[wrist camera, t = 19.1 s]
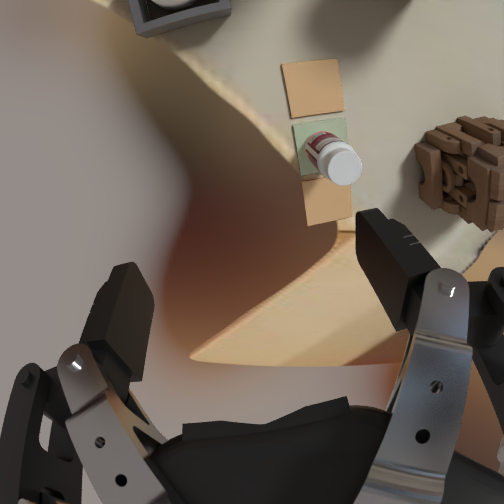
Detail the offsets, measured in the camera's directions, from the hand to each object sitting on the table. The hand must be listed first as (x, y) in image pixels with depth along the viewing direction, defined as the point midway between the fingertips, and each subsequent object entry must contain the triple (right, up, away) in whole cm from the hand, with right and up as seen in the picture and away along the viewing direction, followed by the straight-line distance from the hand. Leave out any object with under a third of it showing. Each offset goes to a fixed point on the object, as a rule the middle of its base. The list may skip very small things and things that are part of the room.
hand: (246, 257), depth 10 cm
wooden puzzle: (+36, +16, +28) cm, 48 cm away
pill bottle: (+9, +14, +26) cm, 31 cm away
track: (+9, +14, +26) cm, 31 cm away
